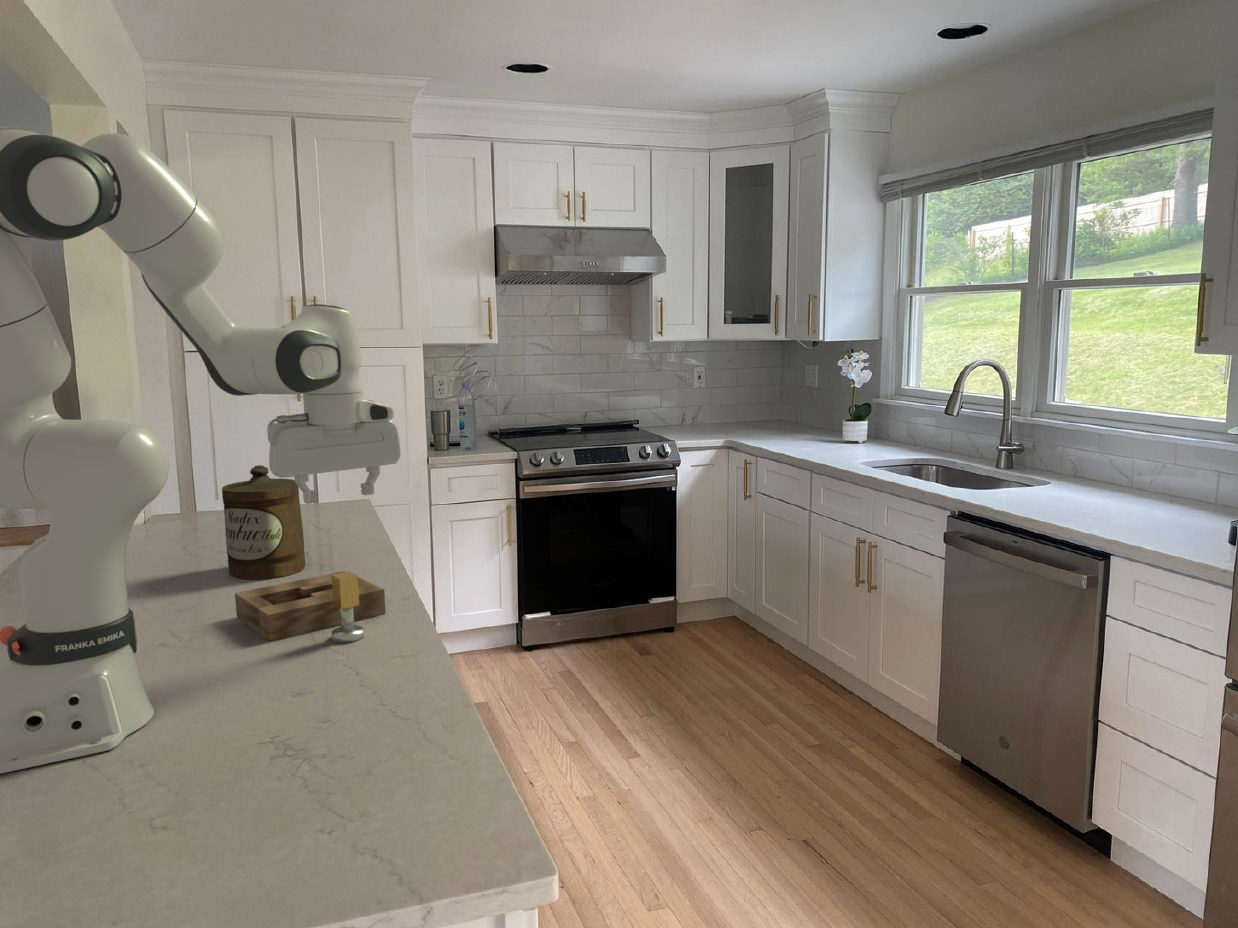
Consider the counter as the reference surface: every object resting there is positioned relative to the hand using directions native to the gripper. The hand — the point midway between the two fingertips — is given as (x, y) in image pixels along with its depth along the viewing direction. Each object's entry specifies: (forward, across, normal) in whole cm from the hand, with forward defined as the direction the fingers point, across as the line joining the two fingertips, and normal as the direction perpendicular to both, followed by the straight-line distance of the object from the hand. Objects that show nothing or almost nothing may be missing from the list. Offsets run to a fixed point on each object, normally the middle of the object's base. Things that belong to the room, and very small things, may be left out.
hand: (339, 498), depth 139 cm
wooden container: (+23, +5, +50) cm, 55 cm away
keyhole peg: (+23, 0, 0) cm, 23 cm away
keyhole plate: (+23, 0, +15) cm, 27 cm away
